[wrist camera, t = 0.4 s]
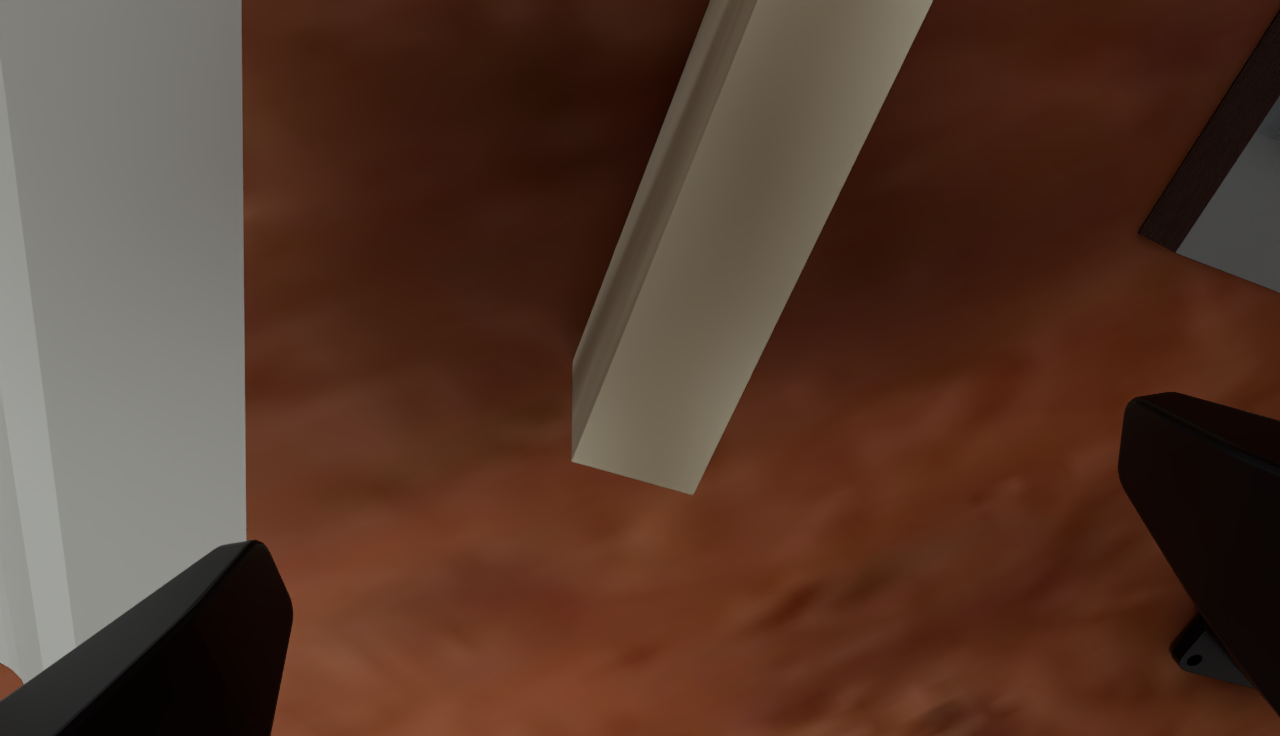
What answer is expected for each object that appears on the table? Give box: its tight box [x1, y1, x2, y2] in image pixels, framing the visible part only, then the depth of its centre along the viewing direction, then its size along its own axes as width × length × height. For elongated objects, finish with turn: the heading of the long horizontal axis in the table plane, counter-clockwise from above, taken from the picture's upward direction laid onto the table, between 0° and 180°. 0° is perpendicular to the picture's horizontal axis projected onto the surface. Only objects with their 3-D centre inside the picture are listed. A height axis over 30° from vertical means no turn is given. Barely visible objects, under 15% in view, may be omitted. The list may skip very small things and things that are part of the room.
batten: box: [572, 0, 933, 495], centre depth 17 cm, size 3×18×5 cm, turn 159°
